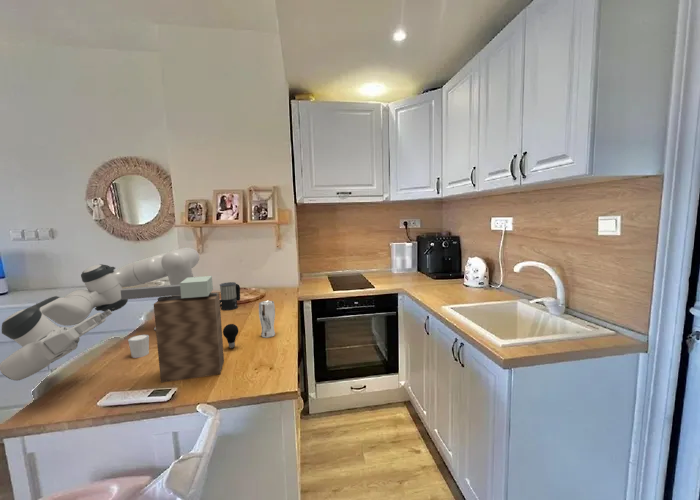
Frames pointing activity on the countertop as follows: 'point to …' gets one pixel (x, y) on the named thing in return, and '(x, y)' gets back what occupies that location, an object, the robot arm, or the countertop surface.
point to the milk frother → (229, 295)
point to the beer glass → (267, 318)
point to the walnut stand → (189, 336)
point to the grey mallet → (173, 289)
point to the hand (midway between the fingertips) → (102, 315)
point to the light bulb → (230, 334)
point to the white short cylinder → (139, 345)
